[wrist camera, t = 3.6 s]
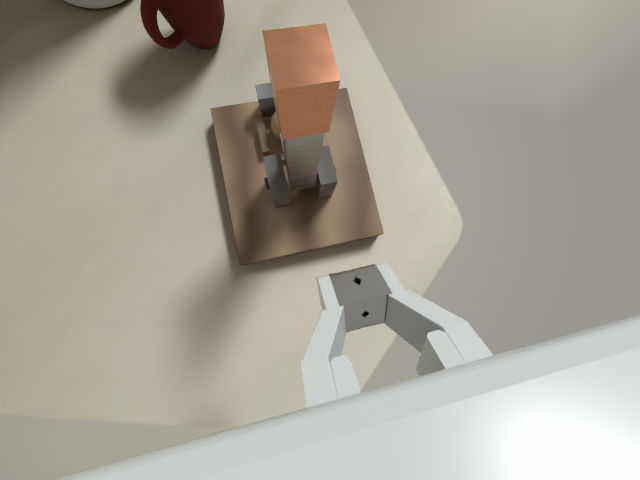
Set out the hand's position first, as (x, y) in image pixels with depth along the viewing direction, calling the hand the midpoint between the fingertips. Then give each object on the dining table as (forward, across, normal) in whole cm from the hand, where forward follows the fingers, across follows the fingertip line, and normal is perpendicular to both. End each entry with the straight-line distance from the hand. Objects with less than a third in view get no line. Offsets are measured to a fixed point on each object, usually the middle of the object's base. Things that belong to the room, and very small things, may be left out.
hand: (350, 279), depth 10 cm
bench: (+21, 0, +4) cm, 22 cm away
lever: (+16, 0, +2) cm, 16 cm away
